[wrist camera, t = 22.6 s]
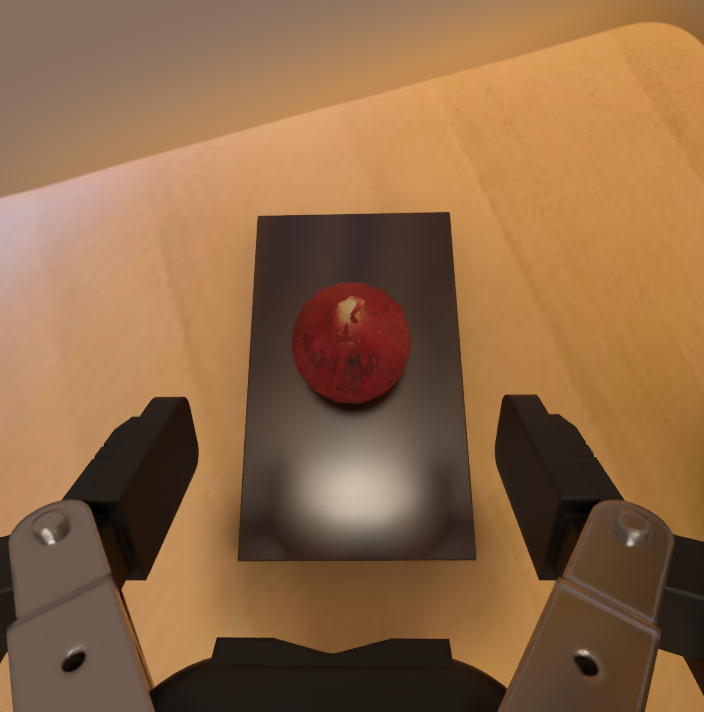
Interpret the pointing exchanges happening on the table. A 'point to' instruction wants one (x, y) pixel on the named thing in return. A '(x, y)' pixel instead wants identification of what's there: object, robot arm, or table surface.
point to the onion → (351, 342)
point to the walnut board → (356, 421)
